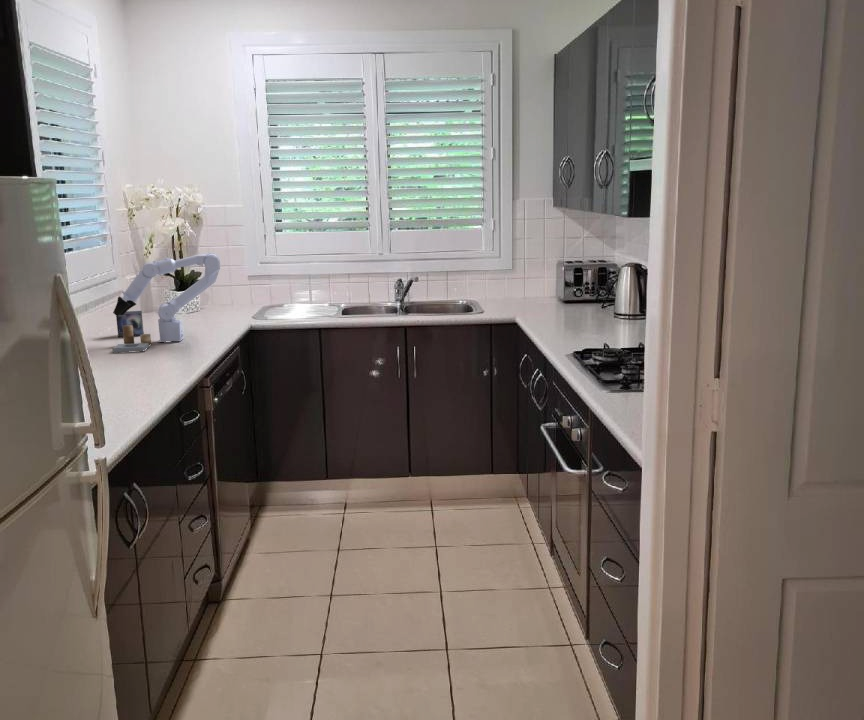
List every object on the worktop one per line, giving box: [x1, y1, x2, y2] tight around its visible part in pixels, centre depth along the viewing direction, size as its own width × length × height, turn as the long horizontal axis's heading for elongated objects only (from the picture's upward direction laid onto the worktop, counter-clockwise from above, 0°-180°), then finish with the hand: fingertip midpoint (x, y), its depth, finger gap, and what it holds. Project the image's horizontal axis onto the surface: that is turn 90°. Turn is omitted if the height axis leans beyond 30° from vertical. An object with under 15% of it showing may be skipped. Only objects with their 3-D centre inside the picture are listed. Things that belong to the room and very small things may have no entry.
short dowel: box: [139, 333, 152, 345], centre depth 339 cm, size 4×4×4 cm
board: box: [112, 342, 150, 354], centre depth 329 cm, size 12×8×2 cm, turn 95°
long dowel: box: [122, 325, 135, 344], centre depth 340 cm, size 4×4×8 cm
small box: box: [115, 310, 145, 338], centre depth 360 cm, size 11×6×10 cm, turn 105°
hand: (117, 314), depth 339 cm, fingers open, 7 cm apart
